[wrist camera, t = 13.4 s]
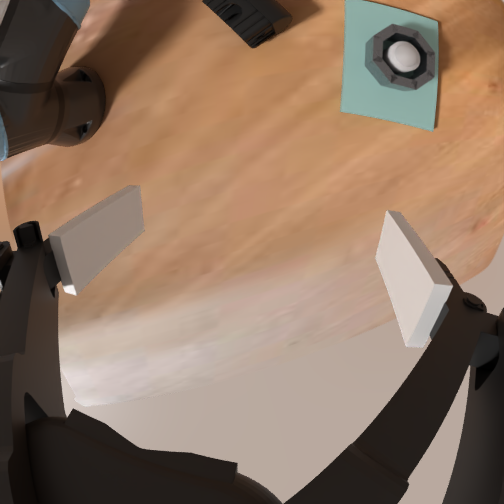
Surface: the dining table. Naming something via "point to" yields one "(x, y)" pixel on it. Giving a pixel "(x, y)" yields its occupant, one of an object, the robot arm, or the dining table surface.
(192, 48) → the dining table surface
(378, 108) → the post stand
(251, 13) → the end cap
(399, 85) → the collar
